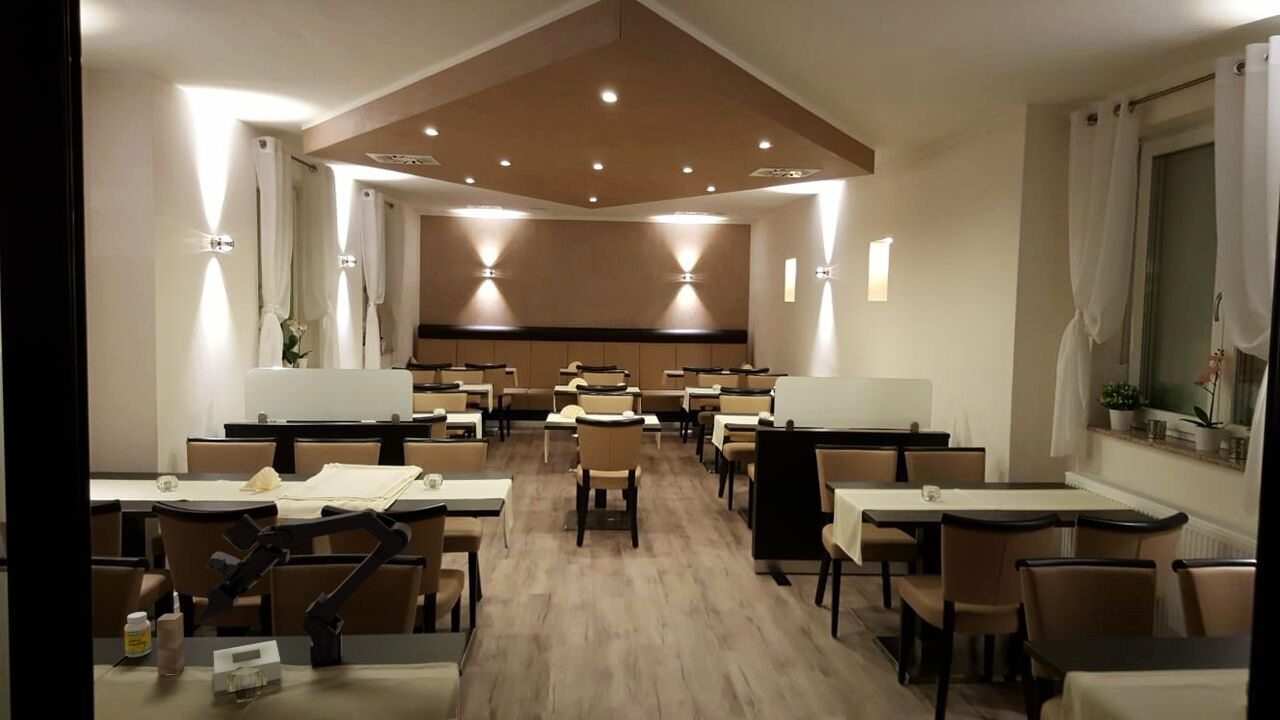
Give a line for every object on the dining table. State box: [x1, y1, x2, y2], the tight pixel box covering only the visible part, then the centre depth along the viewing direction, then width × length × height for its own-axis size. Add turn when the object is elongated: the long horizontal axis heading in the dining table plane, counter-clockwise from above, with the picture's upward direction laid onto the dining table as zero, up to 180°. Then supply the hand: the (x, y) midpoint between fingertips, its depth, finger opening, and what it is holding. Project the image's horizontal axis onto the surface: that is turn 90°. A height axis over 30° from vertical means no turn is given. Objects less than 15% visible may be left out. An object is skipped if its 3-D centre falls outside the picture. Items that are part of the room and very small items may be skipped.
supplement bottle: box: [123, 611, 152, 658], centre depth 187 cm, size 5×5×10 cm
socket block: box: [213, 639, 282, 697], centre depth 175 cm, size 13×13×5 cm
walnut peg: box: [156, 612, 185, 676], centre depth 177 cm, size 4×4×13 cm
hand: (207, 613), depth 178 cm, fingers open, 9 cm apart
